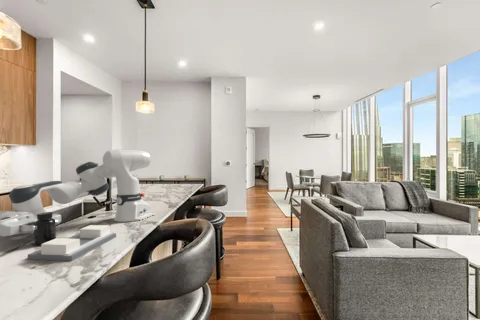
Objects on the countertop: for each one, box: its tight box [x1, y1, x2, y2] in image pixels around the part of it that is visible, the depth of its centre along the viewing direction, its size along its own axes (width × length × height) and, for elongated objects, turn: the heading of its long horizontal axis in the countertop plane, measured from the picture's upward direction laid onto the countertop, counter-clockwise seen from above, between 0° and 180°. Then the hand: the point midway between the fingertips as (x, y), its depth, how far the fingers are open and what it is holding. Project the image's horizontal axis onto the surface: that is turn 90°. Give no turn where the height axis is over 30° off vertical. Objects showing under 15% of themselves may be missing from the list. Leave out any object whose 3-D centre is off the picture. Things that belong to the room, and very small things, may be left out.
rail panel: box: [27, 224, 117, 262], centre depth 91 cm, size 24×16×5 cm, turn 175°
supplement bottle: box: [33, 211, 57, 247], centre depth 95 cm, size 7×7×12 cm
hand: (46, 225), depth 94 cm, fingers closed on supplement bottle, 7 cm apart
